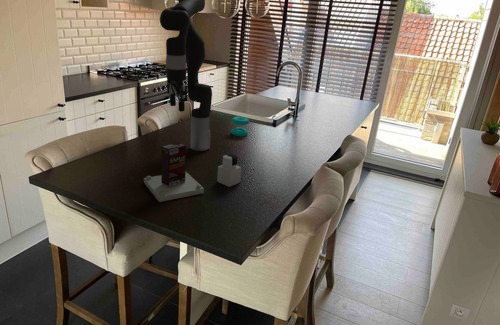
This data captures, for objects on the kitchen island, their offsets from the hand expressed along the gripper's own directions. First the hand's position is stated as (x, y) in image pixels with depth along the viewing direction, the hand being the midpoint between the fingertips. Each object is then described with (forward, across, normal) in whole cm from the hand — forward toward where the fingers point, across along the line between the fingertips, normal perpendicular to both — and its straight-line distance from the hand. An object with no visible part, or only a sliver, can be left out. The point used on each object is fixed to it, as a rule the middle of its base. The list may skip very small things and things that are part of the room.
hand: (177, 108), depth 144 cm
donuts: (+32, +40, -56) cm, 76 cm away
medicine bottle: (+30, -15, -16) cm, 37 cm away
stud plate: (+29, -10, +7) cm, 32 cm away
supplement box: (+27, -11, +7) cm, 30 cm away
